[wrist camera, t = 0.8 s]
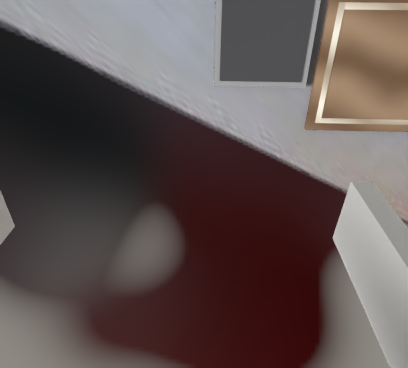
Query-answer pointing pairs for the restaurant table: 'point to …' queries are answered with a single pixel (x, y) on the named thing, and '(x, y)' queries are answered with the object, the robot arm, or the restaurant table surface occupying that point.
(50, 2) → the restaurant table surface
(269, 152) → the restaurant table surface
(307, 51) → the ink pad
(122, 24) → the restaurant table surface
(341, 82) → the board
